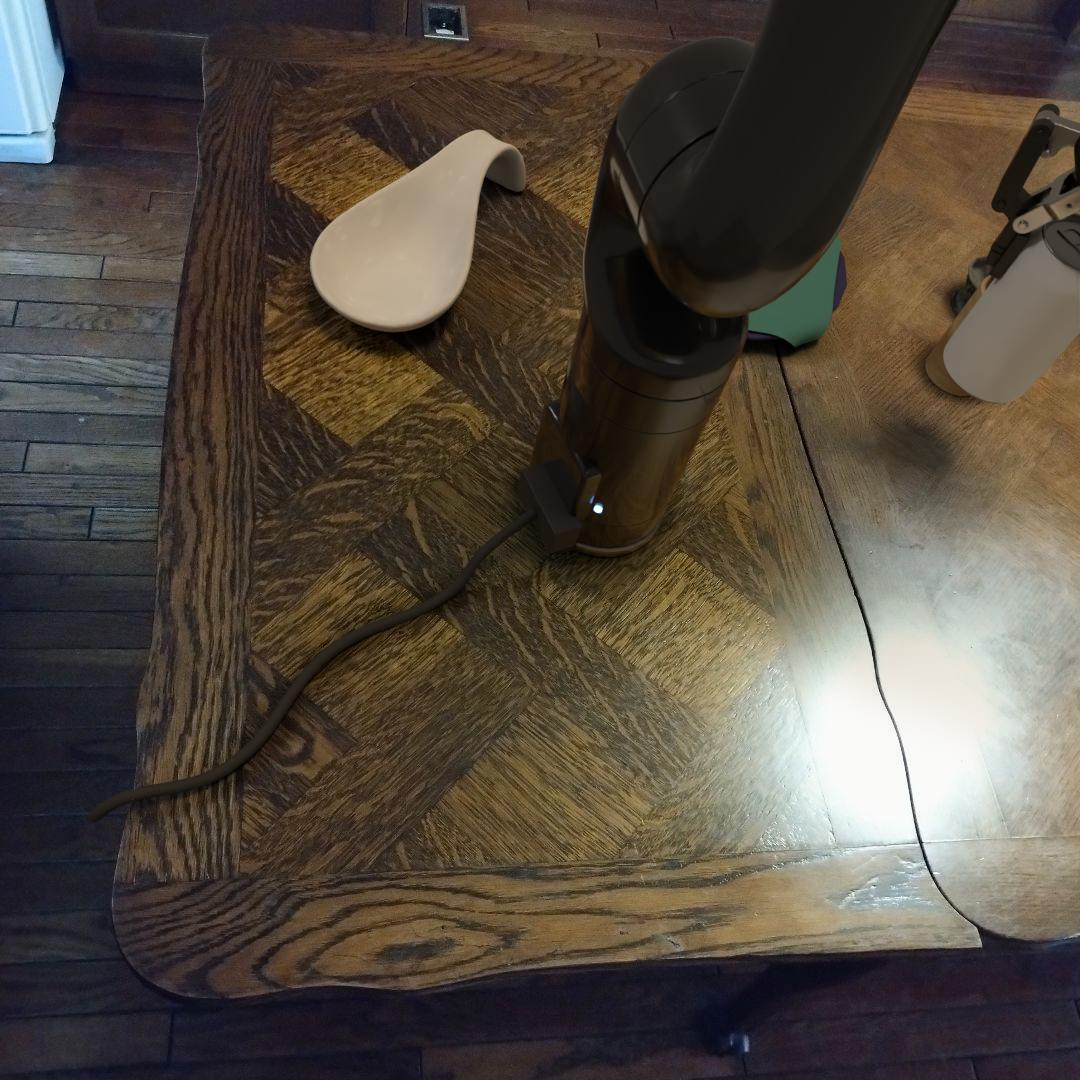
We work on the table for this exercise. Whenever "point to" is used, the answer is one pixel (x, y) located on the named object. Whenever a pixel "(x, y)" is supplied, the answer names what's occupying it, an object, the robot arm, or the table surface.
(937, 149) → the table surface
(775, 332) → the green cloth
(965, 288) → the ornate chess piece
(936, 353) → the pepper mill
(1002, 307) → the can
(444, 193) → the spoon rest
